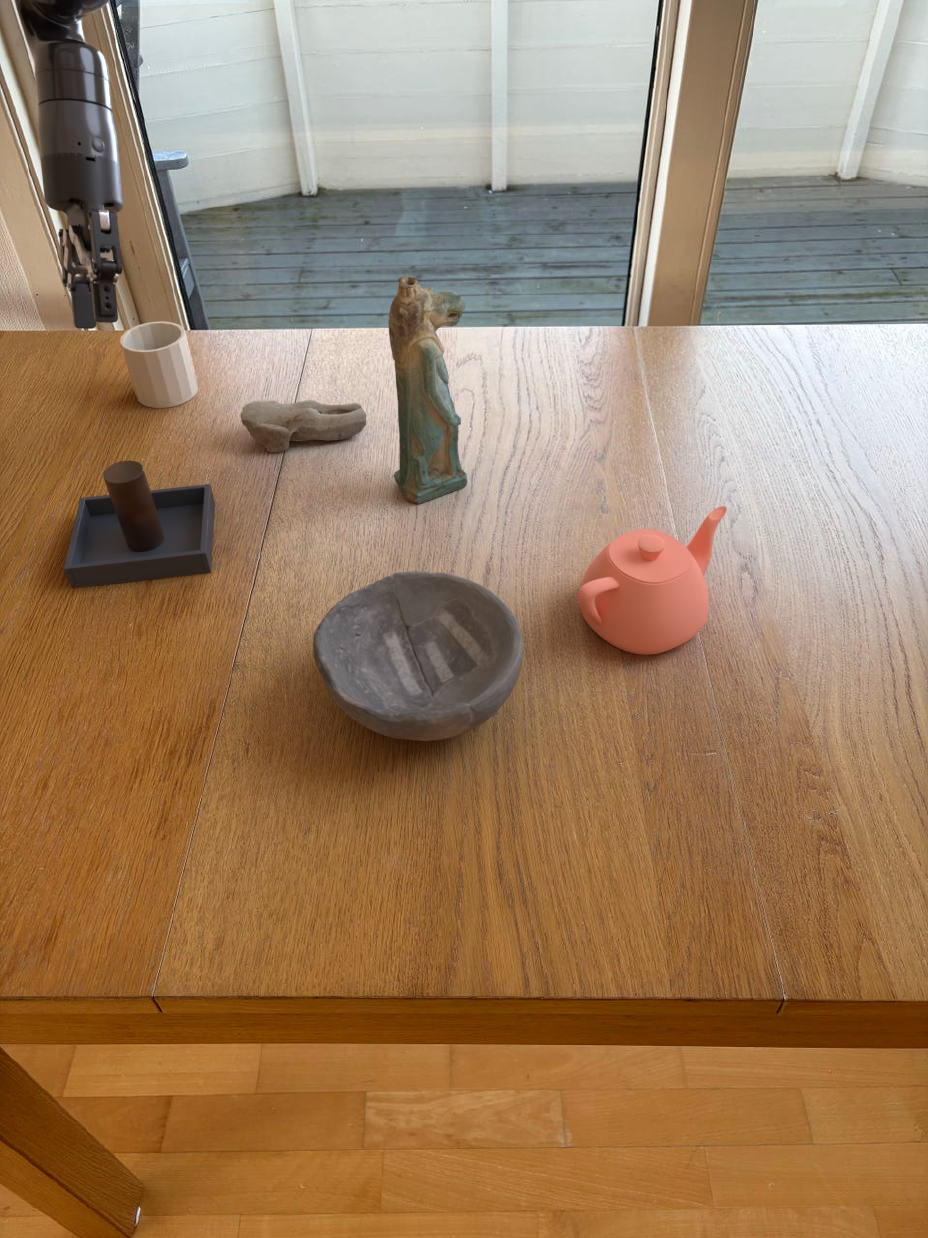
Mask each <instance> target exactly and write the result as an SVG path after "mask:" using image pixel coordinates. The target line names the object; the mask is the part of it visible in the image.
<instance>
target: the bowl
mask: <svg viewBox="0 0 928 1238" xmlns="http://www.w3.org/2000/svg"><path fill="white" fill-rule="evenodd" d="M312 639H313V641H312V645H313V646H312V651H313V652H312V653H313V655H312V656H313V660H314V664H315V666H316V668H317V672H318V674H319V676H320V678H321V680H322V682H323V685H324V687H325V689H326V691H327V692H328V694H329V695H330V697H331V699H332V700H333V702H334V703H335V704H336V705H337V706H338V707H339V708H340V709H341V710H342V711H343V712H344V713H345V714H346V715H347V716H348V717H350V718H351V720H354V721H356V722H357V723H359V724H360V725H362V726H363V727H365V728H367V729H369V730H371V731H373V732H375V733H377V734H379V735H381V736H384V737H387V738H390V739H391V738H392V739H394V740H395V739H396V740H406V741H407V740H408V741H421V742H432V741H441V740H445V739H449V738H453V737H456V736H458V735H461V734H463V733H464V734H465V733H467V732H470V731H471V730H473V729H475V728H477V727H479V726H480V725H482V724H484V723H486V722H487V721H489V720H490V719H491V718H492V717H493V716H494V715H495V714H496V713H497V712H498V711H499V710H500V709H501V708H502V707H503V705H504V704H505V703H506V701H507V700H508V698H509V697H510V696H511V695H512V693H513V690H514V688H515V686H516V685H517V682H518V681H519V676H520V673H521V669H522V666H523V659H524V658H523V657H524V639H523V633H522V629H521V625H520V622H519V621H518V618H517V617H516V616H515V614H514V613H513V611H512V610H511V608H510V607H509V606H508V604H506V602H505V601H503V600H502V599H501V598H500V597H498V596H497V595H496V594H495V593H494V592H492V591H491V590H490V589H488V588H486V587H485V586H483V585H481V584H480V583H477V582H475V581H472V580H469V579H468V578H465V577H462V576H458V575H455V574H452V573H447V572H442V571H441V572H440V571H439V572H438V571H435V572H430V571H420V570H419V571H401V572H393V573H392V574H391V575H388V576H384V577H383V578H381V579H378V580H376V581H375V582H373V583H371V584H368V585H365V586H363V587H361V588H359V589H356V590H355V591H353V592H351V593H349V594H347V595H346V596H344V597H342V599H341V600H339V601H338V602H337V603H336V604H334V606H332V607H331V608H330V609H328V611H327V613H326V614H325V615H324V617H323V618H322V620H321V621H320V622H319V624H318V625H317V627H316V629H315V631H314V633H313V638H312Z"/></svg>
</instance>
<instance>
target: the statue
mask: <svg viewBox="0 0 928 1238" xmlns="http://www.w3.org/2000/svg"><path fill="white" fill-rule="evenodd" d="M397 281H398V288H397V293H396V294H395V296H394V297H393V298H392V301H391V303H390V307H389V315H388V337H389V346H390V351H391V356H392V359H393V361H394V372H395V387H396V397H397V398H396V399H397V422H398V434H399V435H398V438H399V461H398V463H399V464H398V465H399V467H398V469H397V470H396V471H395V472H394V474H393V478H394V481H395V483H396V484H397V486H398V488H399V490H400V492H401V493H402V494H403V496H404V498H405V499H406V500H407V501H408V502H411V503H415V504H417V505H419V504H423V503H425V502H428V501H430V500H434V499H436V498H439V497H442V496H444V495H446V494H447V495H448V494H449V493H452V492H455V491H458V490H460V489H461V490H462V489H463V488H465V487H467V484H468V477H467V472H465V470H464V469H463V467H462V464H461V461H460V455H459V433H460V430H459V427H460V425H461V424H462V418H461V416H459V415H458V414H457V412H456V408H455V404H454V401H453V399H452V396H451V392H450V388H449V384H450V383H449V379H450V375H449V372H448V368H447V364H446V360H445V357H444V353H445V347H444V345H443V344H442V342H441V340H440V338H439V336H438V334H437V331H438V329H440V328H442V327H454V326H457V325H458V323H459V322H461V317H462V316H463V312H464V311H465V309H466V304H465V301H464V299H463V297H462V296H461V295H459V294H458V293H457V292H455V291H454V290H452V289H447V290H444V291H439V292H438V293H436V292H435V291H434V288H433V287H431V286H427V287H425V288H421V286H420V284H419V281H418V277H416V276H415V275H403V276H400V277H399V278H398V279H397Z"/></svg>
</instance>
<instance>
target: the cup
mask: <svg viewBox="0 0 928 1238" xmlns="http://www.w3.org/2000/svg"><path fill="white" fill-rule="evenodd" d="M119 344H120V348H121V351H122V355H123V358H124V361H125V364H126V369H127V371H128V375H129V379H130V382H131V385H132V389H133V391H134V394H135V396H136V399H137V401H138V402H139V403H140V404H141V405H143V406H145V407H148V408H153V409H166V408H168V409H169V408H173V407H177V406H180V405H182V404H185V403H187V402H189V401H190V400H191V399H194V397H195V396H196V395H197V393H198V391H199V385H198V378H197V374H196V370H195V366H194V362H193V357H192V353H191V350H190V345H189V342H188V337H187V333H186V330H185V328H183V326H182V325H180V324H177V323H175V322H172V321H163V320H162V321H151V322H149V321H148V322H146V323H145V322H144V323H142V324H138V325H136V326H133V327H132V328H129V329H128V330H126V331H125V332H124V333H123V334H122V335H121V336H120V340H119Z"/></svg>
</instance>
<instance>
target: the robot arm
mask: <svg viewBox="0 0 928 1238" xmlns="http://www.w3.org/2000/svg"><path fill="white" fill-rule="evenodd" d="M110 1H111V0H14V5H15V9H16V11H17V15H18V18H19V21H20V25H21V28H22V32H23V35H24V38H25V41H26V44H27V47H28V49H29V52H30V55H31V57H32V60H33V64H34V65H33V66H34V67H33V68H34V83H35V91H36V92H35V93H36V102H37V113H38V114H37V116H38V117H37V137H38V138H37V139H38V149H39V157H40V158H39V159H40V168H41V179H42V189H43V198H44V202H45V204H46V206H47V207H48V208H49V209H52V210H54V211H56V212H63V213H64V214H65V215H66V218H67V219H66V228H59V229H58V233H57V236H58V240H59V250H60V262H61V274H62V279H61V281H62V285H63V287H64V288H67V290H68V291H67V292H70V299H71V310H72V320H73V326H74V327H75V328H76V329H82V330H83V329H84V330H92V329H95V328H97V327H96V326H97V323H102V324H103V323H104V324H105V323H106V324H113V323H116V322H118V320H119V313H118V301H117V289H116V284H117V283H118V280H119V275H122V273H123V270H124V267H123V264H122V263H123V262H122V253H121V243H120V242H121V241H120V234H119V223H118V213H119V212H121V211H122V209H123V207H124V199H123V189H122V188H123V187H122V178H121V177H122V175H121V165H120V164H121V163H120V152H119V151H120V150H119V143H118V141H119V140H118V135H117V129H116V125H115V120H114V114H113V103H112V102H113V101H112V91H111V78H110V71H109V65H108V62H107V61H108V60H107V58H106V56H105V55H104V53H103V52H102V51H101V50H100V49H99V48H98V47H96V46H95V45H93V44H92V43H90V42H88V41H87V40H86V36H85V32H84V28H83V27H84V25H83V24H84V23H83V20H84V19H85V18H86V17H88V16H89V15H91V14H92V15H93V14H94V13H97V12H98V11H99V10H101V9H102V8H104V7H105V6H106V5H107V4H108V3H110ZM79 275H80V276H79Z"/></svg>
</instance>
